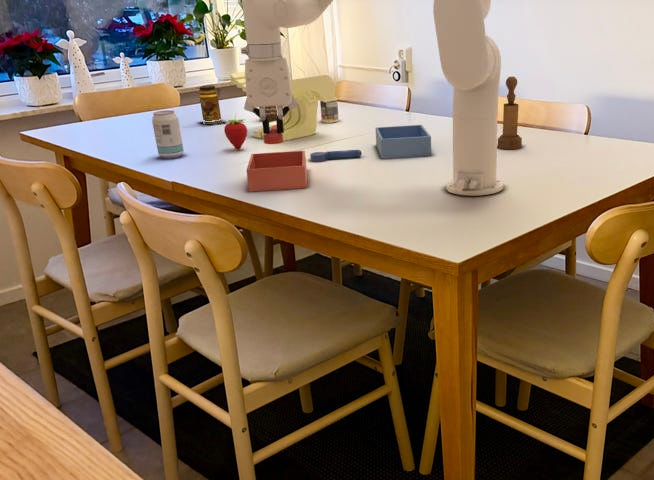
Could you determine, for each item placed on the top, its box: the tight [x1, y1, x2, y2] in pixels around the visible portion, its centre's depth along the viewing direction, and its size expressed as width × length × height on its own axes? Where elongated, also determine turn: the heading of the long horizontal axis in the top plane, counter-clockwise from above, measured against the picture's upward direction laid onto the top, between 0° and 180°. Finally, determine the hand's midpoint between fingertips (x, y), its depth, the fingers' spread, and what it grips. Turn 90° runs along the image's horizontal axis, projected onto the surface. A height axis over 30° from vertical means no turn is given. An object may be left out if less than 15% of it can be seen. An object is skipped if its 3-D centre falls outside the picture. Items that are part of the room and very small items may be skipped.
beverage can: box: [151, 110, 185, 160], centre depth 204 cm, size 7×7×12 cm
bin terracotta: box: [246, 150, 308, 192], centre depth 177 cm, size 17×13×5 cm
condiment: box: [199, 84, 223, 125], centre depth 251 cm, size 7×8×12 cm
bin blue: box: [375, 124, 432, 160], centre depth 201 cm, size 17×13×5 cm
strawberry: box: [223, 114, 248, 151], centre depth 210 cm, size 6×8×10 cm
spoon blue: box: [309, 149, 363, 163], centre depth 196 cm, size 14×4×2 cm, turn 96°
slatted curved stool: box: [229, 71, 336, 142], centre depth 225 cm, size 30×16×18 cm, turn 45°
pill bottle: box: [319, 96, 339, 124], centre depth 244 cm, size 6×6×10 cm
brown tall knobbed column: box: [497, 76, 523, 150], centre depth 197 cm, size 7×6×18 cm
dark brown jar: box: [265, 106, 278, 122], centre depth 251 cm, size 6×6×12 cm
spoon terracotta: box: [262, 124, 284, 145], centre depth 173 cm, size 14×4×2 cm, turn 6°
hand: (274, 136), depth 173 cm, fingers closed on spoon terracotta, 2 cm apart
